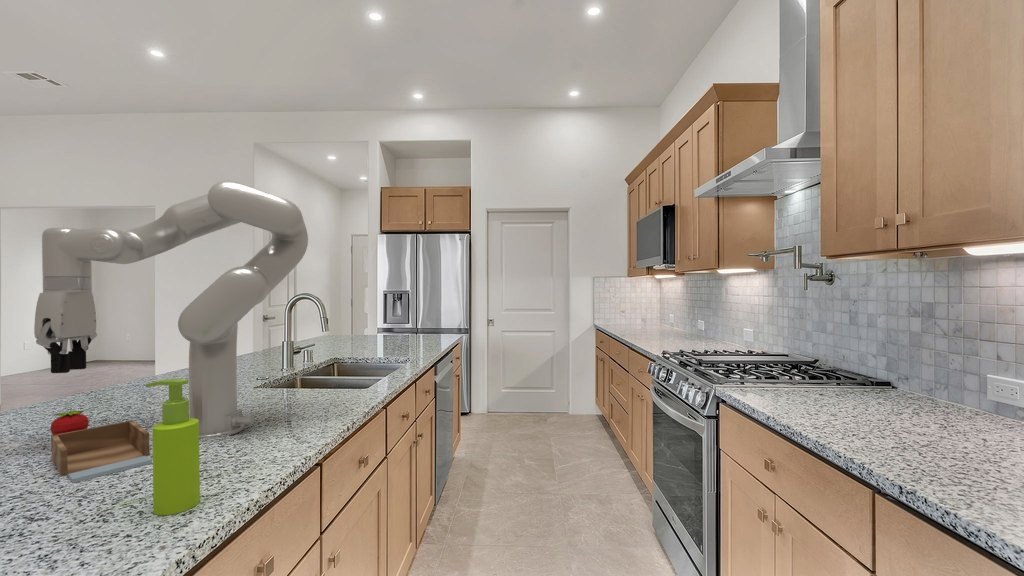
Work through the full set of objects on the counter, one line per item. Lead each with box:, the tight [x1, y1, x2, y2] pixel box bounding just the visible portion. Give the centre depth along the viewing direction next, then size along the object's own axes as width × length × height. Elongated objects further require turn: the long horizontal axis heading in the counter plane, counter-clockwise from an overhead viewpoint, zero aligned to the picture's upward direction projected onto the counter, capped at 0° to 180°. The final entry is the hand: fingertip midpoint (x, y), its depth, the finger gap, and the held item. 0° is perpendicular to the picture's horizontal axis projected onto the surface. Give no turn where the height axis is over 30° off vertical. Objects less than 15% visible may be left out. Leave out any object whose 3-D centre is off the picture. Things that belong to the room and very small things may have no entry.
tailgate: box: [67, 455, 153, 484], centre depth 84 cm, size 1×11×5 cm
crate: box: [50, 420, 151, 477], centre depth 90 cm, size 14×13×6 cm
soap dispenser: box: [144, 378, 201, 516], centre depth 71 cm, size 6×7×20 cm
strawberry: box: [49, 403, 90, 435], centre depth 97 cm, size 6×8×10 cm
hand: (69, 370), depth 96 cm, fingers open, 3 cm apart
